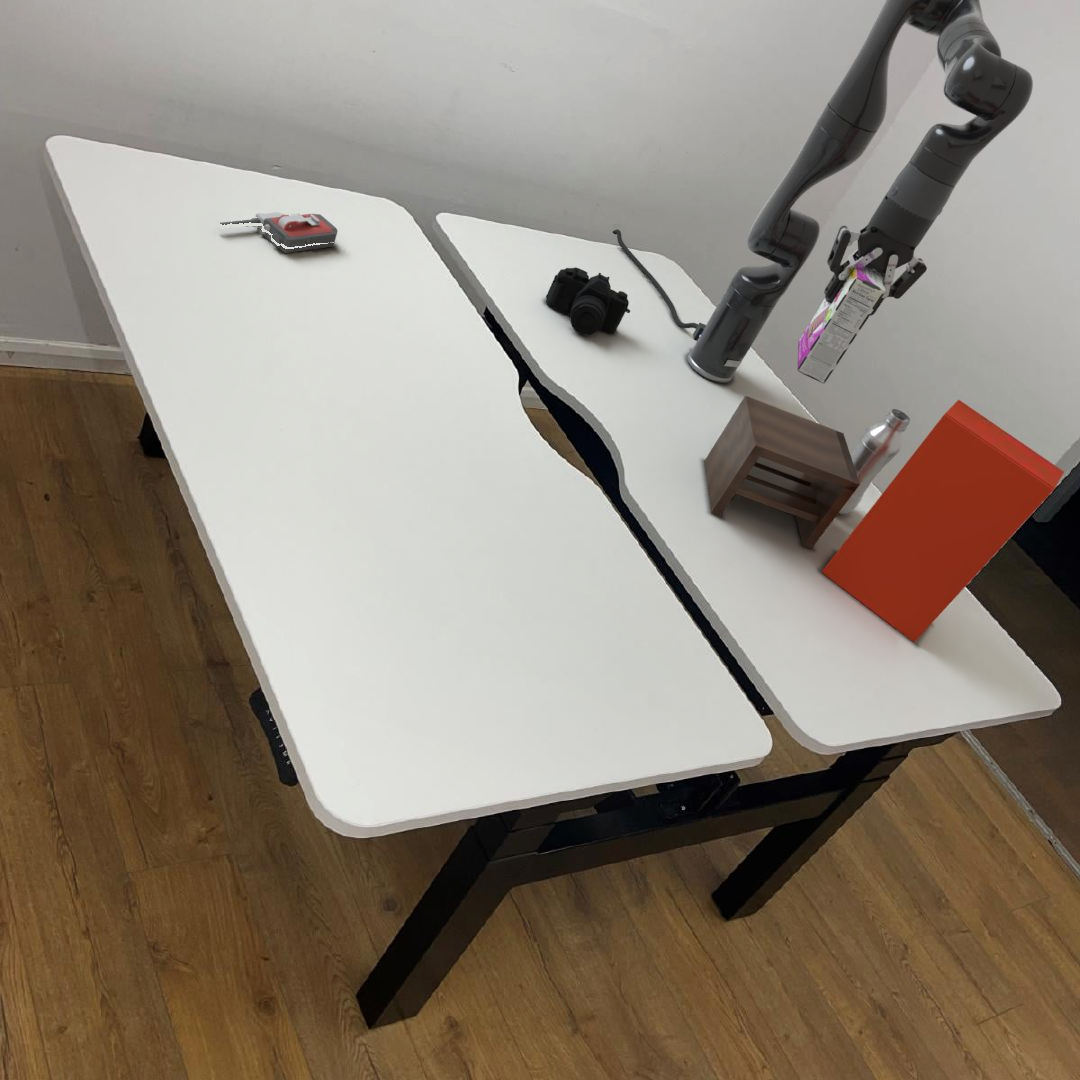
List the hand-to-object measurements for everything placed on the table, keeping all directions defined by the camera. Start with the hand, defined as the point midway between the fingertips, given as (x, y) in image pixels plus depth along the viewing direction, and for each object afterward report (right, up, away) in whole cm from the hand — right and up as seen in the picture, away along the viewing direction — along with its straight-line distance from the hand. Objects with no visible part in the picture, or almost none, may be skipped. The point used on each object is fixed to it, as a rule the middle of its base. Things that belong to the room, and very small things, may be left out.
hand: (845, 307), depth 154 cm
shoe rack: (-9, -28, +17) cm, 35 cm away
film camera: (-38, +6, +40) cm, 55 cm away
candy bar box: (-4, -7, +6) cm, 10 cm away
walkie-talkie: (-88, +16, +20) cm, 92 cm away
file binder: (+7, -43, +11) cm, 45 cm away
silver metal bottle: (+6, -28, +27) cm, 40 cm away
